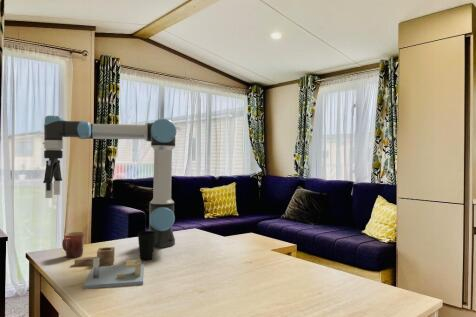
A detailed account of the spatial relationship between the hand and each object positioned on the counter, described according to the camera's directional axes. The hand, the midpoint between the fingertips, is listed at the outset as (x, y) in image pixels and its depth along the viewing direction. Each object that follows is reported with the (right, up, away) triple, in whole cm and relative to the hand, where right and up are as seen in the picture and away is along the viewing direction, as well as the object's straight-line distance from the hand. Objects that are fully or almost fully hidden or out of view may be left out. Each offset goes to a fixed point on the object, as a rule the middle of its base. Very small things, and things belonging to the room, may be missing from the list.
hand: (53, 196), depth 163 cm
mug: (+9, -28, 0) cm, 29 cm away
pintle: (+32, -27, -30) cm, 52 cm away
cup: (+43, -28, -3) cm, 52 cm away
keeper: (+43, -27, -27) cm, 58 cm away
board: (+38, -28, -26) cm, 54 cm away
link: (+23, -28, -10) cm, 37 cm away
